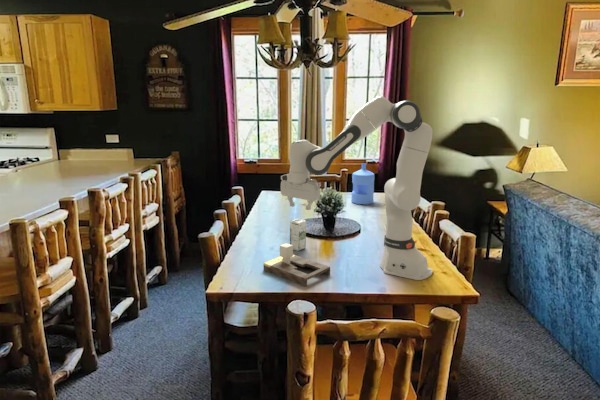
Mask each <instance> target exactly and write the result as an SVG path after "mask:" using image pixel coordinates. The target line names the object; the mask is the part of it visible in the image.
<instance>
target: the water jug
mask: <svg viewBox="0 0 600 400" xmlns="http://www.w3.org/2000/svg"><path fill="white" fill-rule="evenodd" d="M366 167H367V163H364V162H363V163H361V168H360V169H359V170H356V171H354V172H353V173H352V174H351V178H352V179H351V180H352V181H351V183H352V192H351V200H350V201H351V203H353V204H356V205H360V204H363V206H364V205H365V206H367V205H372V204H373V203H374V192H375V173H373V172H372V171H370V170H368V169H367V168H366Z"/></svg>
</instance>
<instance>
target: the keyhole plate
mask: <svg viewBox="0 0 600 400" xmlns="http://www.w3.org/2000/svg"><path fill="white" fill-rule="evenodd" d="M290 263H291V264H294V266H292V265H289V264H286V263H284V262H282V257H280V256H277V257H274V258H273V259H270V260H267V261H265V262H263V265H262V266H263V271H265V272H267V273H269V274H272V275H274V276H277V277H280V278H283V279H285V280H288V281H290V282H292V283H295V284H298V285H300V286H301V287H302V286H303V287H308V281H309V280H310V279H312V278H313V279H314V278H315V277H317V276H318V275H321V274H324V275H327V276H330V275H331V266H329V265H326V264H324V263H323V264H322V263H320V262H316V261H314V260H312V259H307V258H305V257H302V256H299V255H296V254H293V256H292V257H290ZM297 266H299V267H301V268H308V269H309V270H310V269H311V270H313V271H312V272H310V273H306V272H303V271H301V270H298V267H297Z"/></svg>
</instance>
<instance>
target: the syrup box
mask: <svg viewBox="0 0 600 400" xmlns="http://www.w3.org/2000/svg"><path fill="white" fill-rule="evenodd" d="M306 238H307V221H306V220H305V219H301V218H295V219H293V220H290V221H289V244H290V245H293V251H298V252H300V251H301V250H304V249H306V247H307V246H306V245H307V243H306V242H307V239H306Z"/></svg>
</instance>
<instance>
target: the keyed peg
mask: <svg viewBox="0 0 600 400" xmlns="http://www.w3.org/2000/svg"><path fill="white" fill-rule="evenodd" d="M293 255H294V250H293V245H290V243H287V242H285V243H283V244H280V245H279V257H282V262H284V263H286V264H289V265H292V266H295V264H293V263H290V257H292V256H293Z"/></svg>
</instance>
